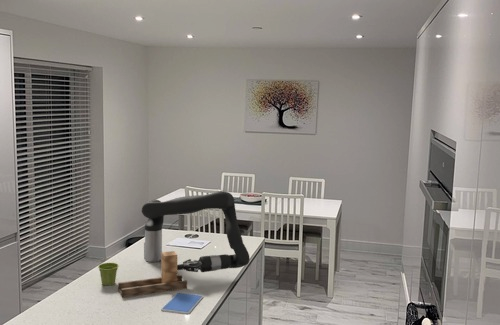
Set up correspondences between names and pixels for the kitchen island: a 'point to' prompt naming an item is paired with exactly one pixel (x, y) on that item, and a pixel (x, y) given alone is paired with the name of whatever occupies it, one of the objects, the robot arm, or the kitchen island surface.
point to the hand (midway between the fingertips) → (175, 267)
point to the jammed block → (168, 267)
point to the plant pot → (108, 273)
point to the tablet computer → (182, 303)
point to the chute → (149, 286)
